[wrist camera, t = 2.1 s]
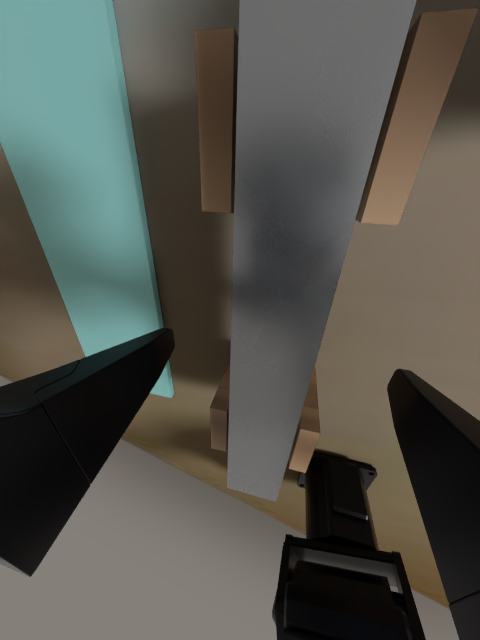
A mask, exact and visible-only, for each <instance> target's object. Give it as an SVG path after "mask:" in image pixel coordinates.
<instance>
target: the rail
mask: <svg viewBox="0 0 480 640" xmlns="http://www.w3.org/2000/svg"><path fill="white" fill-rule="evenodd" d="M416 1H417V0H240V3H239V42H238V81H237V120H236V159H235V198H234V237H233V276H232V315H231V354H230V393H229V432H228V471H227V488H230V489H234V490H237V491H240V492H244V493H247V494H251V495H254V496H257V497H261V498H264V499H268V500H271V501H274V502H277V498H278V495H279V491H280V488H281V484H282V480H283V477H284V473H285V470H286V466H287V462H288V459H289V455H290V452H291V448H292V445H293V441H294V437H295V434H296V430H297V427H298V423H299V420H300V416H301V412H302V409H303V405H304V402H305V398H306V394H307V391H308V387H309V384H310V380H311V377H312V373H313V369H314V366H315V362H316V359H317V355H318V351H319V348H320V344H321V341H322V337H323V334H324V330H325V326H326V323H327V319H328V316H329V312H330V309H331V305H332V301H333V298H334V294H335V291H336V287H337V283H338V280H339V276H340V273H341V269H342V266H343V262H344V258H345V255H346V251H347V248H348V244H349V240H350V237H351V233H352V230H353V226H354V223H355V219H356V215H357V212H358V208H359V205H360V201H361V198H362V194H363V190H364V187H365V183H366V180H367V176H368V172H369V169H370V165H371V162H372V158H373V155H374V151H375V147H376V144H377V140H378V137H379V133H380V129H381V126H382V122H383V119H384V115H385V112H386V108H387V104H388V101H389V97H390V94H391V90H392V87H393V83H394V79H395V76H396V72H397V69H398V65H399V61H400V58H401V54H402V51H403V47H404V44H405V40H406V36H407V33H408V29H409V26H410V22H411V19H412V15H413V11H414V8H415V4H416Z"/></svg>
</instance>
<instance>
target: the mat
mask: <svg viewBox="0 0 480 640" xmlns="http://www.w3.org/2000/svg"><path fill="white" fill-rule="evenodd" d="M0 143H1V145H2V148H3V150H4V153H5V155H6V158H7V160H8V163H9V165H10V168H11V170H12V173H13V175H14V178H15V180H16V183H17V185H18V188H19V190H20V193H21V195H22V198H23V200H24V203H25V205H26V208H27V210H28V213H29V215H30V218H31V220H32V223H33V225H34V228H35V230H36V233H37V236H38V238H39V241H40V243H41V246H42V248H43V251H44V253H45V256H46V258H47V261H48V263H49V266H50V268H51V271H52V273H53V276H54V278H55V281H56V283H57V286H58V288H59V291H60V293H61V296H62V298H63V301H64V303H65V306H66V308H67V311H68V313H69V316H70V318H71V321H72V323H73V326H74V328H75V331H76V333H77V336H78V339H79V341H80V344H81V346H82V349H83V351H84V354H85V356H86V357H87V356H90V355H92V354H95V353H98V352H100V351H103V350H106V349H108V348H111V347H113V346H116V345H119V344H121V343H124V342H127V341H129V340H132V339H134V338H137V337H140V336H142V335H145V334H147V333H150V332H153V331H155V330H158V329H161V328H164V326H163V320H162V314H161V307H160V301H159V294H158V288H157V282H156V275H155V269H154V262H153V256H152V250H151V243H150V237H149V230H148V224H147V218H146V211H145V205H144V199H143V192H142V186H141V179H140V173H139V167H138V160H137V154H136V147H135V141H134V135H133V128H132V122H131V115H130V109H129V103H128V96H127V90H126V83H125V77H124V71H123V64H122V58H121V51H120V45H119V39H118V32H117V26H116V20H115V13H114V7H113V0H0ZM150 393H152V394H156V395H160V396H165V397H169V398H172V396H173V394H174V390H173V384H172V378H171V371H170V365H169V360H168V362H167V364H166V366H165V368H164V370H163V372H162V374H161V376H160V378H159V379H158V381H157V383H156V384H155V386H154V387H153V389H152V390H151V392H150Z"/></svg>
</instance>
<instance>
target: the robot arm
mask: <svg viewBox="0 0 480 640" xmlns="http://www.w3.org/2000/svg"><path fill="white" fill-rule="evenodd" d="M174 347H175V343H174V335H173V331H172V329H169V328H161V329H158V330H155V331H153V332H150V333H147V334H145V335H142V336H140V337H137V338H134V339H132V340H129V341H127V342H124V343H121V344H119V345H116V346H113V347H111V348H108V349H106V350H103V351H100V352H98V353H95V354H92V355H90V356H87V357H85V358H82V359H81V360H77V361H74V362H71V363H69V364H66V365H63V366H61V367H58V368H55V369H52V370H50V371H47V372H44V373H41V374H38V375H35V376H32V377H29V378H26V379H23V380H19V381H16V382H13V383H10V384H7V385H4V386H1V387H0V564H2V565H4V566H6V567H8V568H11V569H13V570H15V571H18V572H20V573H22V574H24V575H27V576H29V577H31V576H32V574H33V573H34V572H35V570H36V569H37V567H38V566H39V564H40V563H41V561H42V560H43V558H44V557H45V555H46V553H47V552H48V550H49V549H50V547H51V546H52V544H53V543H54V541H55V539H56V538H57V536H58V535H59V533H60V532H61V530H62V529H63V527H64V526H65V524H66V523H67V521H68V519H69V518H70V516H71V515H72V513H73V512H74V510H75V508H76V507H77V505H78V504H79V502H80V501H81V499H82V498H83V496H84V495H85V493H86V492H87V490H88V488H89V487H90V484H91V483H92V482H93V480H94V479H95V477H96V475H97V474H98V473H99V471H100V470H101V468H102V466H103V465H104V463H105V462H106V460H107V459H108V457H109V456H110V454H111V452H112V451H113V449H114V448H115V446H116V445H117V443H118V441H119V440H120V438H121V437H122V435H123V434H124V432H125V431H126V429H127V428H128V426H129V424H130V423H131V421H132V420H133V418H134V417H135V415H136V414H137V412H138V411H139V409H140V407H141V406H142V404H143V403H144V401H145V400H146V398H147V397H148V395H149V393H150V392H151V390H152V389H153V387H154V386H155V384H156V383H157V381H158V379H159V378H160V376H161V374H162V372H163V370H164V368H165V366H166V364H167V362H168V360H169V358H170V356H171V354H172V352H173V350H174ZM387 391H388V396H389V402H390V407H391V413H392V418H393V423H394V428H395V432H396V435H397V439H398V442H399V445H400V448H401V451H402V455H403V458H404V461H405V464H406V468H407V471H408V474H409V477H410V481H411V484H412V487H413V490H414V493H415V497H416V500H417V503H418V506H419V510H420V513H421V516H422V519H423V523H424V526H425V529H426V532H427V535H428V539H429V542H430V545H431V548H432V552H433V555H434V558H435V561H436V565H437V568H438V571H439V574H440V577H441V581H442V584H443V587H444V590H445V594H446V597H447V600H448V602H449V603H450V604H449V607H450V611H451V614H452V617H453V620H454V624H455V627H456V630H457V633H458V636H459V640H480V421H479V420H478V419H476V418H475V417H473V416H472V415H471V414H469V413H468V412H467V411H465V410H464V409H462V408H461V407H460V406H458V405H457V404H456V403H454V402H453V401H451V400H450V399H449V398H447V397H446V396H445V395H443V394H442V393H441V392H439V391H438V390H436V389H435V388H434V387H432V386H431V385H430V384H428V383H427V382H425V381H424V380H423V379H421V378H420V377H419V376H417V375H416V374H414V373H413V372H412V371H410V370H404V369H397V370H395V372H394V374H393V376H392V378H391V380H390V381H389V383H388V387H387ZM376 476H377V471H376V469H375V468H374V467H371V466H367V465H363V464H359V463H355V462H351V461H347V460H343V459H339V458H335V457H331V456H327V455H323V454H319V453H315V452H313V454H312V457H311V460H310V463H309V465H308V468H307V471H306V473H303V472H300V474H299V477H298V480H297V485H298V486H299V487H301V488H305V497H306V539H305V538H298V537H293V536H292V535H288V534H286V538H285V542H284V545H283V550H282V558H281V565H280V573H279V581H278V588H277V592H276V596H275V601H274V605H273V611H272V617H273V620H274V622H275V625H276V628H277V640H426V639H425V635H424V632H423V629H422V625H421V622H420V618H419V615H418V612H417V608H416V605H415V602H414V598H413V595H412V592H411V588H410V585H409V581H408V578H407V575H406V571H405V568H404V565H403V561H402V558H401V555H400V552H394V551H392V553H390V552H384V551H379V548H378V543H377V539H376V534H375V529H374V525H373V520H372V515H371V511H370V506H369V501H368V497H367V492H366V490H367V489H368V487H369V486H370V485H371V483H372V482H373V480H374V479H375V477H376ZM390 585H391V586H396V587H397V589H398V593H397V592H393V591H391V589H390Z"/></svg>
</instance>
